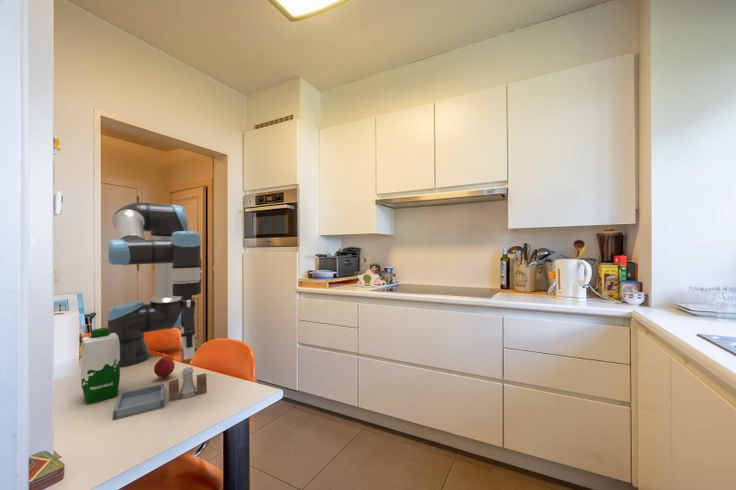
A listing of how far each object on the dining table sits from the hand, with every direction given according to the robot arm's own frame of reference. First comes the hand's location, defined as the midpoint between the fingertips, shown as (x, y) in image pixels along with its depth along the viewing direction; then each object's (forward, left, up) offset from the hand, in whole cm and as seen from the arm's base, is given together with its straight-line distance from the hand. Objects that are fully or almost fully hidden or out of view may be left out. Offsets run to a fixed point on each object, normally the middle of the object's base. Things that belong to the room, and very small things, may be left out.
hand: (187, 352), depth 92 cm
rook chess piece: (0, 0, -13) cm, 13 cm away
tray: (-2, -12, -13) cm, 17 cm away
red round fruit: (-20, -6, -13) cm, 25 cm away
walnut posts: (0, 0, -13) cm, 13 cm away
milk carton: (-15, -22, -13) cm, 30 cm away
